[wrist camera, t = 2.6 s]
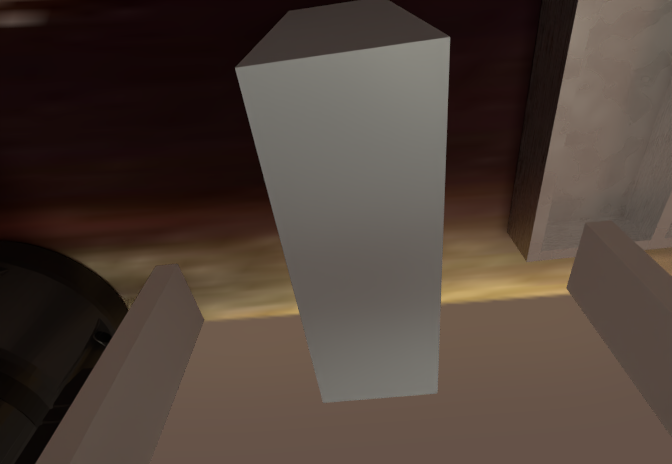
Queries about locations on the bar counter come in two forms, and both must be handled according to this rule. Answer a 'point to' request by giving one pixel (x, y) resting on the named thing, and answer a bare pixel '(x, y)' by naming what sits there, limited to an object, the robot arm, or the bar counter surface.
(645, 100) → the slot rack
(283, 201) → the blanking panel
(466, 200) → the bar counter surface
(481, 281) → the bar counter surface
